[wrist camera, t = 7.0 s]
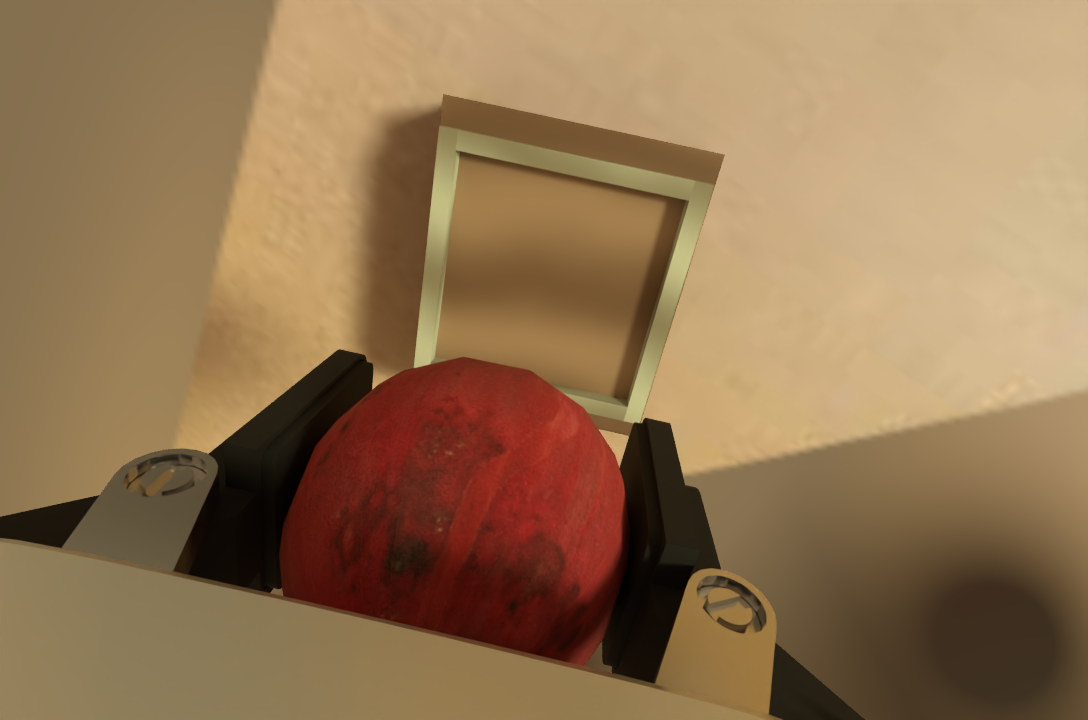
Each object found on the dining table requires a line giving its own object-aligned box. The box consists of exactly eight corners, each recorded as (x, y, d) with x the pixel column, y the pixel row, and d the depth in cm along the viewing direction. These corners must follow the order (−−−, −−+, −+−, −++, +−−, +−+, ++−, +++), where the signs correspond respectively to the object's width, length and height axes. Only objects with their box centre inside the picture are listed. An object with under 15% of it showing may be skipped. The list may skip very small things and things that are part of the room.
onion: (390, 287, 12) (37, 534, 4) (645, 330, 12) (721, 667, 4) (384, 496, 14) (148, 887, 7) (597, 536, 14) (592, 984, 7)
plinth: (465, 100, 26) (437, 92, 21) (707, 152, 26) (728, 155, 21) (434, 357, 31) (407, 393, 27) (631, 401, 31) (636, 445, 27)
